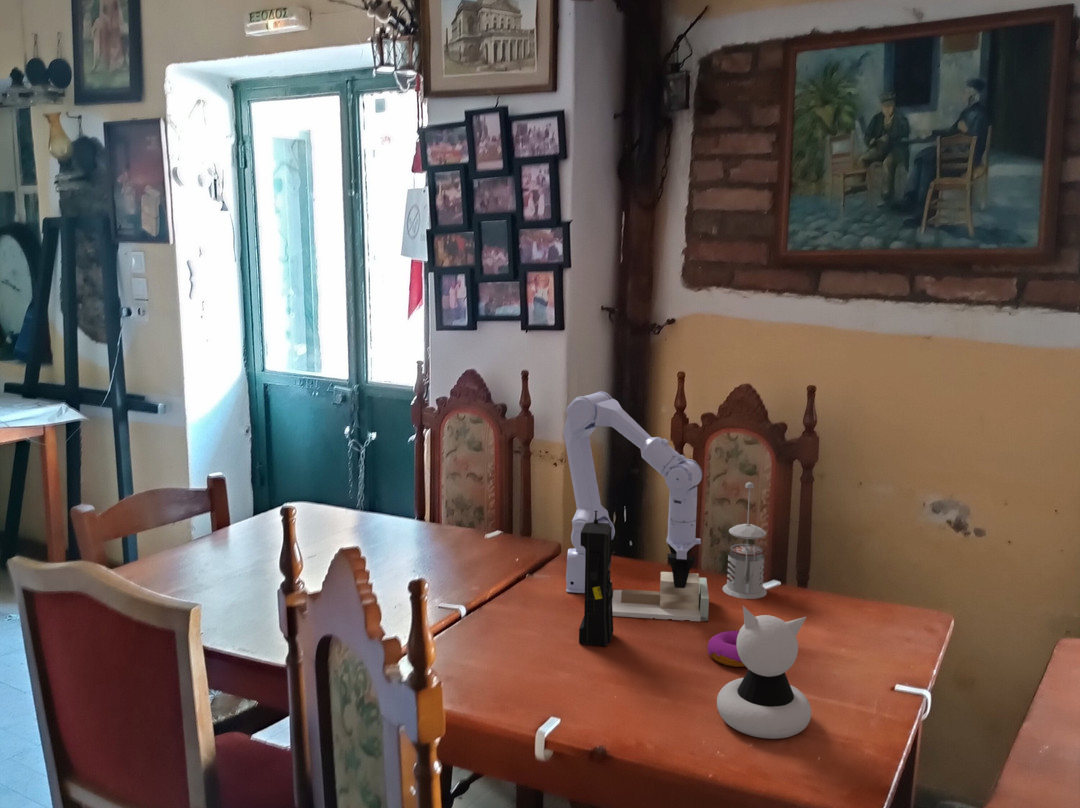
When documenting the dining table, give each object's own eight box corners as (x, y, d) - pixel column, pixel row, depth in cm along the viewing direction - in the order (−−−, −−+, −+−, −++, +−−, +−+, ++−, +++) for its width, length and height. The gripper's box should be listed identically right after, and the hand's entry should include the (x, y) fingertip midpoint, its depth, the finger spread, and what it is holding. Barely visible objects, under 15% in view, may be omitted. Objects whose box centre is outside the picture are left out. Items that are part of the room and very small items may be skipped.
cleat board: (610, 615, 185) (610, 592, 184) (613, 594, 197) (614, 572, 196) (707, 621, 182) (708, 598, 181) (705, 599, 194) (706, 577, 193)
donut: (737, 643, 173) (738, 621, 172) (776, 664, 164) (777, 641, 163) (696, 655, 167) (697, 632, 167) (734, 677, 159) (735, 653, 158)
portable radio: (609, 650, 169) (611, 523, 165) (577, 647, 170) (579, 521, 166) (614, 632, 177) (616, 511, 172) (584, 630, 178) (586, 509, 174)
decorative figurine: (793, 697, 152) (800, 586, 148) (823, 744, 137) (831, 622, 134) (707, 698, 151) (712, 586, 148) (728, 745, 137) (734, 622, 133)
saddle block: (659, 608, 186) (660, 581, 185) (659, 598, 192) (660, 571, 191) (698, 610, 185) (699, 583, 184) (697, 600, 191) (698, 573, 190)
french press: (763, 583, 204) (769, 477, 199) (771, 603, 192) (777, 491, 188) (720, 581, 205) (724, 476, 200) (725, 600, 193) (730, 489, 189)
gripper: (703, 530, 178) (700, 594, 180) (700, 509, 192) (697, 569, 194) (667, 528, 179) (665, 592, 181) (667, 508, 193) (665, 567, 195)
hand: (679, 580), depth 188 cm, fingers open, 7 cm apart
